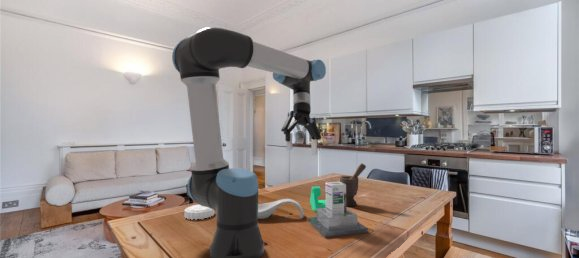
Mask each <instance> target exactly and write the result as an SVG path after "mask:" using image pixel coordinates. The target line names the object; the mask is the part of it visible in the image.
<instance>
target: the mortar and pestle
mask: <svg viewBox="0 0 579 258" xmlns="http://www.w3.org/2000/svg"><path fill="white" fill-rule="evenodd" d="M366 167H367V165H365V164H364V163H360V164H359V165H358V167H357V169H356V170H355V171H354V174H353V175H342V176H340V177H339V182H342V183H344V184H346V207H357V205H358V204H357V201H356V200H355V198H354V197H355V196H357V194H358V191H359V176H360V175H361V174H362V173H363V172H364V170H365V169H366Z"/></svg>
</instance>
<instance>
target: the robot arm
mask: <svg viewBox="0 0 579 258" xmlns="http://www.w3.org/2000/svg"><path fill="white" fill-rule="evenodd" d="M171 55H172V57H171V58H172V59H171V60H172V64H173V67H174V68H175V70H176V71H177V72H178V73H179V76H180V82H181V83H183V84H184V85H185V86H186V91H187V100H188V106H189V118H190V125H191V133H192V142H193V153H194V161H195V162H194V163H193V165H191V168H190V171H191V176H190V177H189V179H188V182H187V192H188V195H189V197H190V198H191V200H193V201H194V202H195V203H196V204H197V205H201V206H205V207H208V208H211V209H213V210H215V211H216V228H215V232H214V234H213V237H212V238H213V239H212V242H211V245H210V246H209V258H262V256H263V255H264V253H265V243H264V240H263V237H262V234H261V230H260V228H259V219H258V204H259V188H260V187H259V183H258V182H259V180H258V175H257V174H256V173H255V172H253V171H251V170H249V169H244V168H236V167H235V168H230V166H229V165H230V164H229V162H228V161H227V160H226V159H224V153H223V143H222V135H221V125H220V123H221V122H220V116H219V107H218V98H217V89H216V88H217V87H216V85H217V84H218V82H219V81H220V80H221V78H220V70H221V69H224V68H238V69H245V68H247V67H249V68H252V69H257V70H262V71H265V72H269V73H272V78H273V81H275V82H277V83H278V84H281V85H282V86H285V87H287V88H289V89H290V90H292V91H293V92H292V93H293V95H292V97H293V100H292V102H293V103H292V104H293V107H292V109H293V110H291V111H288V112H287V117H286V119H285V121H284V124H283V125H282V127H281V128H280V131H281V132H283V135H285V136H284V137H285V142H286V151H291V150H293V133H292V131H293V130H294V129H295V128H296V127H297V126H301V127H304V128H305V129H306V130H307V132H308V134H309V136H310V138H311V140H310V141H311V145H310V146H311V156H315V155H318V146H319V140H320V139H322V135H321V132H320V131H319V128H318V124H317V120H316V117H311V116H310V115H311V111H312V110H311V109H312V108H311V82H317V81H319V80H322V79H323V78H325V76H326V74H327V71H326V69H327V68H326V64H325V63H324V61H323V60H321V59H313V60H309V59H305V58H302V57H299V56H297V55H293V54H291V53H287V52H285V51H282V50H279V49H276V48H274V47H271V46H267V45H265V44H262V43H258V42H256V41H254V40H253V38H252V37H251V36H250V35H249V36H248V35H246V34H244V33H241V32H238V31H235V30H230V29H228V28H222V27H211V26H210V27H204V28H202V29H199V30H198V31H196V32H195V33H193V34H192V35H190V36H187V37H185V38H183V39H181V40H180V41H179V42H178V43H177V44H176V45H175V47H174V48H173V51H172V54H171ZM293 118H294V120H293Z"/></svg>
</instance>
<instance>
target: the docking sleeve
mask: <svg viewBox="0 0 579 258" xmlns="http://www.w3.org/2000/svg"><path fill="white" fill-rule="evenodd" d="M358 216H359V215H358V214H356V213H355V212H353V211H351V210H350V209H348V208H347V207H346V215H339V216H329V215H328V214H327V213H326V208H317V211H316V216H309V217H307V219H308V220H307V222H308V223H309V224H310V225H311V226H312V227H313V228H314V229H315V230H316V231H317V232H318V233H319V234H320V235H321V236H322V237H323V238H325V239H327V238H333V237H334V238H335V237H336V238H337V237H342V236H350V235H351V236H352V235H359V234H366V233H368V232H369V228H368V227H367V226H365V225H364V224H362V223H360V222H359V221H358V220H359V219H358Z"/></svg>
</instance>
